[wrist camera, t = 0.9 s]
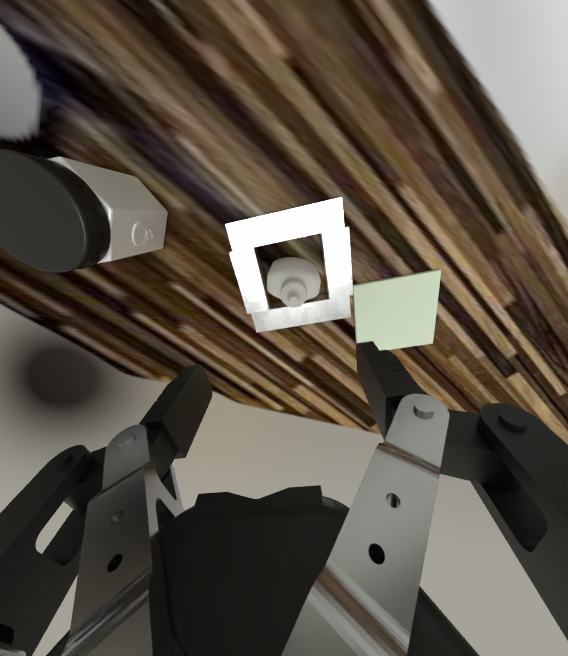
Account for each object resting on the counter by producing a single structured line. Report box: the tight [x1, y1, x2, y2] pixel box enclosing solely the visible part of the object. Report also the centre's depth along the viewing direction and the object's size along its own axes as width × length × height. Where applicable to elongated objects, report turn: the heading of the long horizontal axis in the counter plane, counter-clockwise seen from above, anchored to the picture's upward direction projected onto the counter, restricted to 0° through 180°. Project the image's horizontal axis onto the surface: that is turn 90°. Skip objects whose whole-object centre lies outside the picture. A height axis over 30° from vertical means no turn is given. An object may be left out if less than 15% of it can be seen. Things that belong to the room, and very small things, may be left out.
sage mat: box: [353, 269, 441, 350], centre depth 31 cm, size 11×11×1 cm
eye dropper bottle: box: [267, 257, 321, 308], centre depth 24 cm, size 4×6×12 cm
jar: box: [0, 150, 168, 272], centre depth 21 cm, size 9×8×12 cm
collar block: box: [225, 197, 353, 332], centre depth 28 cm, size 14×14×2 cm
